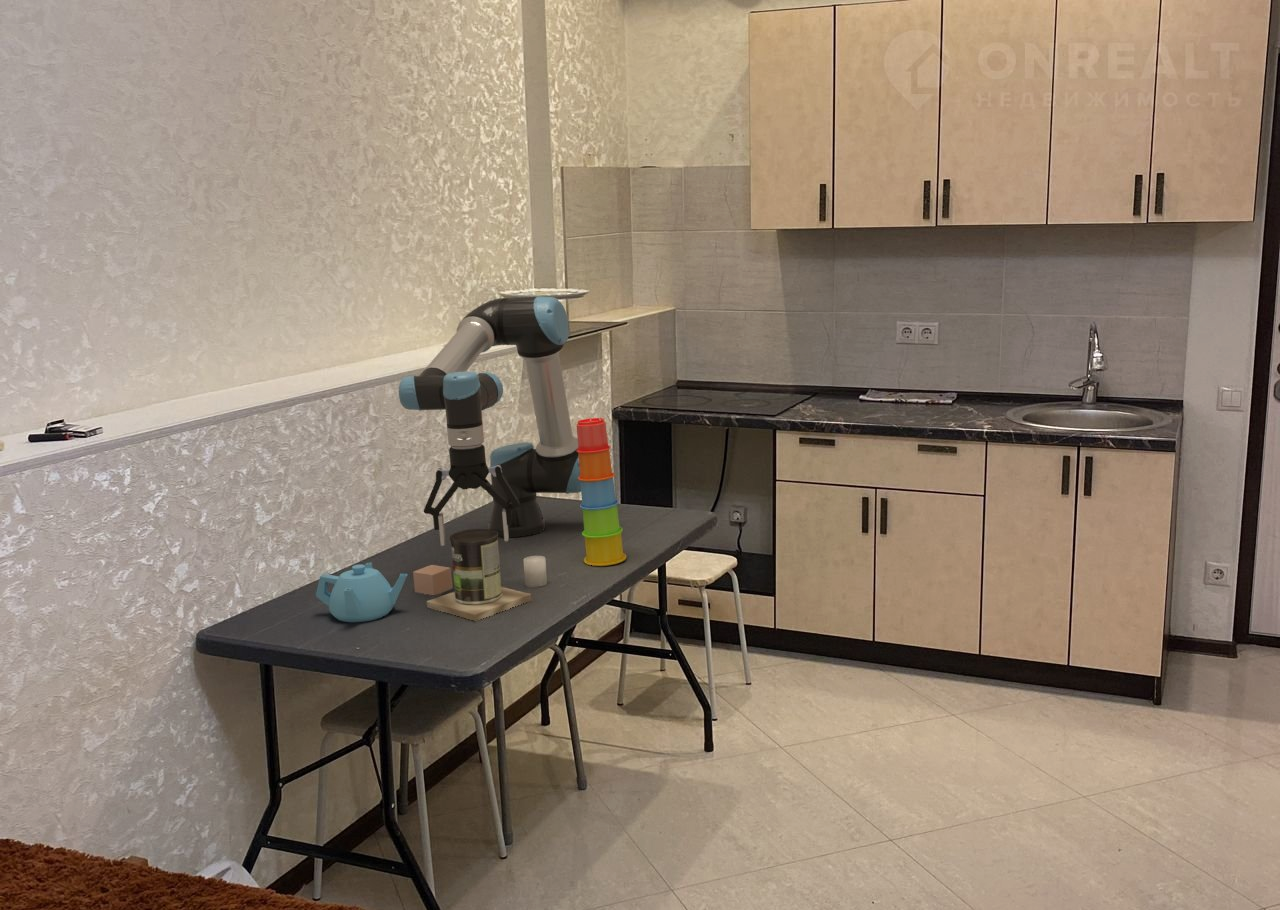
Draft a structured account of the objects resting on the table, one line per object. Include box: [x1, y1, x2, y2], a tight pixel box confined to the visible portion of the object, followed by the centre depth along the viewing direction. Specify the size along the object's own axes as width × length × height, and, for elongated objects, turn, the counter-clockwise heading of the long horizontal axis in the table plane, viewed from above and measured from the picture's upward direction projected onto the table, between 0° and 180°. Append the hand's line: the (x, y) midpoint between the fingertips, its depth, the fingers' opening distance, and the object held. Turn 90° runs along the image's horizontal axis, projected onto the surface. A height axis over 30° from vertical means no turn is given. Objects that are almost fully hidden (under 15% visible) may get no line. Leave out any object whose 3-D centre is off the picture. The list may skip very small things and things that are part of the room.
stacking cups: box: [575, 417, 627, 567], centre depth 279 cm, size 10×10×35 cm
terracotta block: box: [412, 564, 454, 596], centre depth 266 cm, size 6×6×5 cm
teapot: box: [315, 562, 408, 623], centre depth 252 cm, size 15×15×11 cm
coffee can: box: [449, 528, 502, 605], centre depth 253 cm, size 10×10×14 cm
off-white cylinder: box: [522, 555, 548, 588], centre depth 267 cm, size 5×5×6 cm
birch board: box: [426, 586, 532, 622], centre depth 255 cm, size 16×16×2 cm
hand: (475, 541), depth 252 cm, fingers open, 13 cm apart
